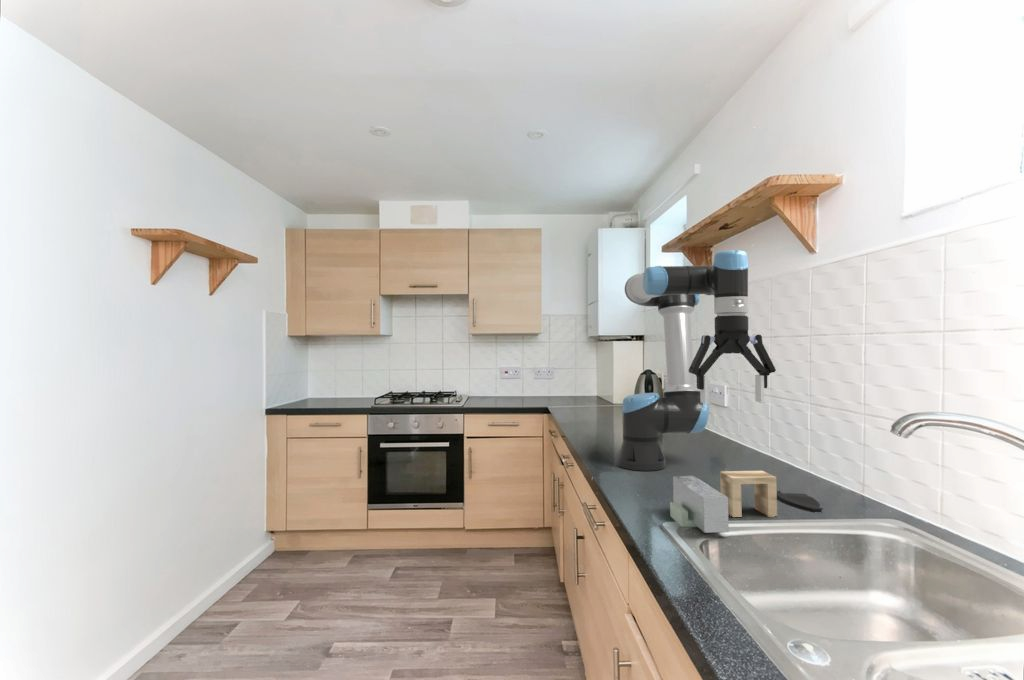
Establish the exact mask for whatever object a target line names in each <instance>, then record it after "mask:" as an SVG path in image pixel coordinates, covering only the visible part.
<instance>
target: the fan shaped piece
mask: <svg viewBox="0 0 1024 680" xmlns="http://www.w3.org/2000/svg"><path fill="white" fill-rule="evenodd" d="M777 500H779V501H781V502H783V503H784V504H786V505H789V506H791V507H795V508H797V509H800V510H804V511H807V512H811V513H815V512H821V513H822V511H823V510H824V508H823V507H821V506H820V505H821V504H820V503H819V502H818V500H816V499H815V498H814V497H812V496H810V495H808V494H805V493H783V492H781V491H780V490H777Z"/></svg>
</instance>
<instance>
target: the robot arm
mask: <svg viewBox="0 0 1024 680" xmlns="http://www.w3.org/2000/svg"><path fill="white" fill-rule="evenodd" d="M624 293H625V294H624V295H625V296H626V298H627V299H628V300H629V301H630V302H631V303H633V304H636V305H638V306H642V307H657V309H658V314H659V315H660V316H662V317H663V330H664V346H665V348H664V349H665V363H666V364H665V366H666V380H667V387H666V388H665V389H664V391H663V392H662V393H663V396H660V395H659V393H657V392H641V393H636V394H631V395H627V396H625V397H624V398H623V400H622V406H621V407H622V410H621V413H622V443H621V446H620V450H619V452H618V456H617V465H618V466H619V467H621V468H623V469H625V470H627V469H628V470H630V471H631V470H633V471H641V472H643V471H645V472H646V471H648V472H650V471H651V472H652V471H659V470H663V469H665V468H666V466H667V465H666V463H667V461H666V458H665V457H666V456H665V454H664V451H663V448H662V446H661V442H660V439H661V438H660V434H692V433H701V432H702V431H704V429H706V426H707V423H708V421H709V415H710V414H709V413H710V410H709V408H710V406H709V381H708V380H709V379H708V378H709V376H708V375H706V374H707V372H708V371H709V370H710V369H711V368H712V366H713V365H714V364H715V363H716V362H717V360H718V359H719V358H720V357H721V356H722V355H723V354H727V355H728V354H740V355H742V356H743V357H744V358H745V359H746V361H748V363H749V364H750V366H752V367H753V368H754V370H755V371H756V372H757V373H758V374H754V377H755V379H754V382H755V383H754V384H755V386H754V387H755V388H754V389H755V391H754V392H755V393H754V395H755V396H754V397H755V402H756V403H761V404H763V403H765V389H767V388H768V376H770V374H771V373H775V372H776V370H777V369H776V367H775V365H774V363H773V361H772V359H771V358H770V355H769V354H768V351H767V349H766V347H765V345H764V344H763V336H762V335H761V334H752V335H749V317H748V315H746V314H748V313H749V262H748V253H747V252H746V251H744V250H737V249H735V250H734V249H733V250H731V249H730V250H723V251H718V252H716V253H715V254H714V256H713V262H712V264H711V265H679V266H677V265H676V266H675V265H674V266H672V265H671V266H667V265H664V266H663V265H656V266H648V267H646V268H645V270H644V272H642V273H637V274H633V275H632V276H630V277H629V278H628V279H627V281H626V282H625V285H624ZM700 295H706V296H714V297H713V298H714V299H713V301H714V314H715V315H716V316H715V317H714V334H713V336H712V335H711V336H710V335H708V334H705V335H701V339H700V340H701V341H700V346H699V347H698V350H697V352H696V354H695V356H694V354H693V350H694V349H693V338H692V337H693V336H692V327H691V326H692V324H691V315H692V313H693V312H694V311H695V306H697V305H698V304H699V302H700ZM713 343H714V344H715V345H716V346H715V347H714V348H713V350H712V351H711V353H710V355H708V357H706V359H705V360H704V358H705V356H706V355H707V352H708V350H709V348H710V345H712V344H713ZM749 343H751V344H752V346H753V348H754V350H755V352H756V354H757V356H758V358H757V357H756V355H754V353H753V352H752V350H751V349H750V348H749V346H748V344H749ZM759 359H760V360H759ZM703 361H704V362H703ZM695 377H696V378H695ZM695 379H696V380H695Z"/></svg>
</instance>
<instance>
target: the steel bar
mask: <svg viewBox="0 0 1024 680" xmlns="http://www.w3.org/2000/svg"><path fill="white" fill-rule="evenodd" d="M672 486H673V487H672V489H673V492H672V493H673V494H672V495H673V498H672V499H673V502H677V503H678V504H679V505H680V506H681V507H683V508H684V509H685V510H686V511H687V512H688V519H689V520H691V521H692V522H693V523H694V524H695V525H696V526H698V527H697V528H698V529H700V530H701V532H703V533H707V534H708V533H729V531H730V530H729V527H730V526H729V524H730V523H729V515H728V497H727V496H725V495H723V494H722V493H721V491H719V490H717V489H715V488H714V487H712V486H711V485H709V484H708V483H706V482H705V481H703V480H701V479H700V478H698V477H697V476H695V475H673V476H672Z"/></svg>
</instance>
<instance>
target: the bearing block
mask: <svg viewBox="0 0 1024 680" xmlns="http://www.w3.org/2000/svg"><path fill="white" fill-rule="evenodd" d="M719 474H720V476H719V477H720V478H719V479H720V482H719V483H720V484H719V485H720V493H722V494H723V495H725V496H727V497H728V516H729V515H730V516H729V517H731V516H732V517H742V518H743V514H742V485H753V487H754V488H753V491H754V499H753V500H754V510H756V511H758V512H759V513H761V514H763V515H764V514H765V515H764V516H766V515H767V516H766V517H768V518H776V517H775V516H777V517H778V498H777V491H778V489H777V485H778V484H777V476H774V475H773V474H770V473H768V472H767V471H764V470H734V471H733V470H728V471H725V470H724V471H720V472H719ZM732 517H731V518H732Z"/></svg>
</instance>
